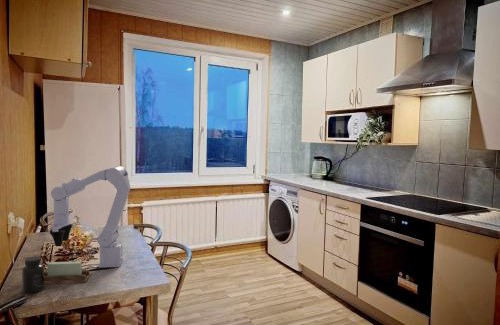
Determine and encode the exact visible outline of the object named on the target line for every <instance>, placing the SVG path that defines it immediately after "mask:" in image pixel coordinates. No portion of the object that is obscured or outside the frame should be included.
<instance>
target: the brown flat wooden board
mask: <svg viewBox="0 0 500 325" xmlns="http://www.w3.org/2000/svg"><path fill="white" fill-rule="evenodd" d="M92 275H93V274H92V272H90V270H89V269H87V270H82V275H61V276H48V273H47V271H44V285H65V284H66V285H67V284H85V283H87V282H88V280H89V279H90V277H91V276H92Z"/></svg>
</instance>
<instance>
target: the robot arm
mask: <svg viewBox="0 0 500 325" xmlns="http://www.w3.org/2000/svg"><path fill="white" fill-rule="evenodd" d="M102 180H103V181H108V182H109V183H110V184H111V185H112V186H113V187H114V188H115V189H116V192H115V197H114V199H113V202H112V206H111V209H110V212H109V215H108V217H107V221H106V223H105V225H104V227H103V229H102V231H101V233H99V235H98V237H97V239H96V241H97V244H98V245H99V263H97V266H96V268H97V267H99V268H120V267H121V265H122V263H123V262H124V258H123V257H124V254H123V252H124V251H123V250H124V246H123V244H118V242H117V239H118V238H119V228H120V226H119V224H120V221H121V218H122V215H123V212H124V209H125V205H126V202H127V199H128V197H129V195H130V191H131V184H130V180H129V173H128V171H127V170H126V168H125V167H124V166H121V165H116V166H114V167H110V168H106V169H103V170H100V171H98V172H97V171H96V172H95V173H93V174H91V175H89V176H87V177H85V178H80V177H78V178H76V177H74V178H72V179H71V180H70V181H68V182H66V183H65V182H63V183H61V185H60V186H56V187H54V188H52V190H51V191H50V195H51V196H50V197H51V198H52V199H53V217H54V218H53V222H51V226H52V229H51V230H50V231H49V234H50V236H51V237H52V239H53V242H54V245H55V247H62V244H63V242H68V240H69V237H70V233H71V229H72V228H73V227H74V226H73V225H74V224H73V223H71V218H70V214H69V213H70V212H69V210H70V209H69V207H70V206H69V204H70V203H69V199H70V196H71V197H72V196H73V195H75V194H78V193H80V192H82V191H84V190H85V188H86V187H87V186H88V185H91V184H93V183H95V182H98V181H102Z"/></svg>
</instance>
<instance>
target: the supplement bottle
mask: <svg viewBox="0 0 500 325" xmlns="http://www.w3.org/2000/svg"><path fill="white" fill-rule="evenodd" d="M41 262H42V261H41V257H40V256H31V257H27V258H26V259H25V260H24V265H25V266H24V267H23V268H22V270H21V280H22V282H21V283H22V284H21V286H22V288H21V290H22V292H23V293H24V294H26V295H27V294H28V295H30V294H31V295H32V294H33V295H34V294H36V293H39V292H41V291H43V289H44V288H45V284H44V272H45V267H44V265H43V263H41Z"/></svg>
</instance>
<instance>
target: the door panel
mask: <svg viewBox="0 0 500 325" xmlns="http://www.w3.org/2000/svg"><path fill="white" fill-rule="evenodd" d="M82 263H83V262H82V261H53V262H52V261H49V262H48V263H47V265H46V267H47V269H46V270H47V271H46V272H47V273H48V276H61V275H82V271H83V269H82V268H83V266H82V265H83V264H82Z"/></svg>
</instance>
